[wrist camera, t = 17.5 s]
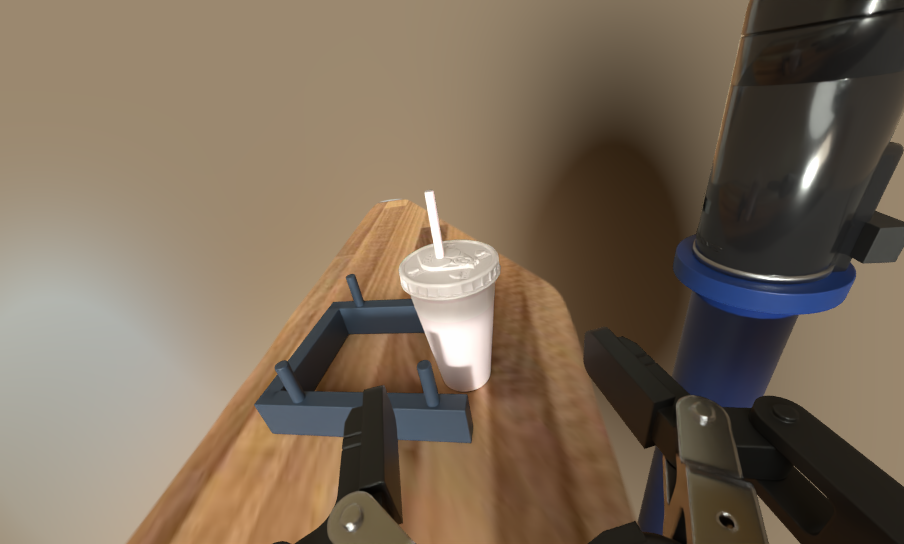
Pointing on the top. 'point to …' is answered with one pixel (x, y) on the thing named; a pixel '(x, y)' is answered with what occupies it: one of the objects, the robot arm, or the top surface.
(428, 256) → the smoothie
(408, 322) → the rack
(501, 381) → the top surface
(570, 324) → the top surface
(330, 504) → the top surface
